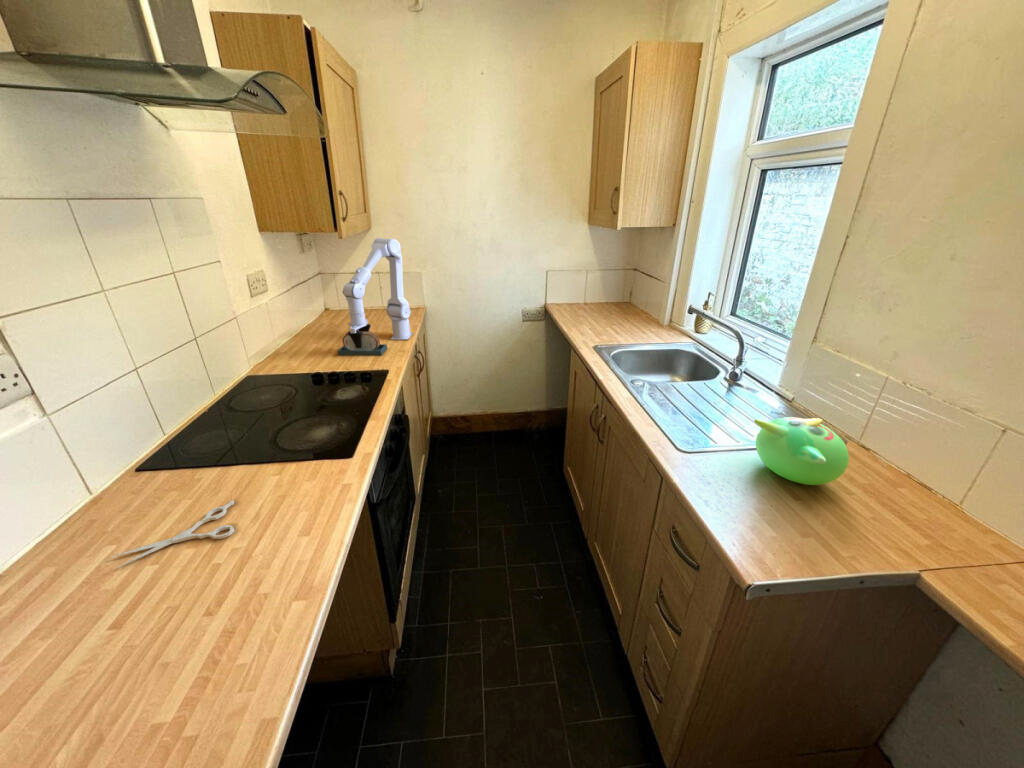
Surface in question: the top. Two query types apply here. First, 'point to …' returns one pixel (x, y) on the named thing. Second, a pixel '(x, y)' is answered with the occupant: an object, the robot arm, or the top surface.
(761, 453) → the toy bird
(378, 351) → the tray
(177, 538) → the scissors
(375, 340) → the tin
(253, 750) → the top surface
